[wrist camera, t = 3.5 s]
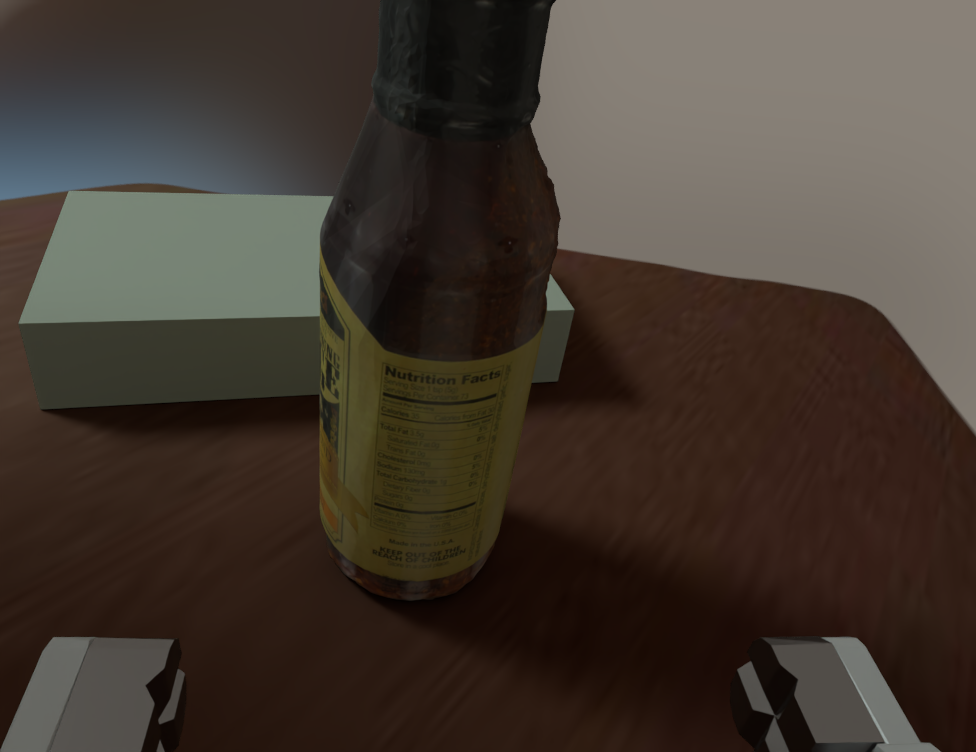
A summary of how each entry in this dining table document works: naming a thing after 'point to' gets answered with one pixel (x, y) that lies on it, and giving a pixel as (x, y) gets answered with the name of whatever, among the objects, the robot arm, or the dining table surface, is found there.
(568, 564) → the dining table surface
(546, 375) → the pale green rectangular block
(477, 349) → the sauce bottle
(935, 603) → the dining table surface
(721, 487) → the dining table surface
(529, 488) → the dining table surface
